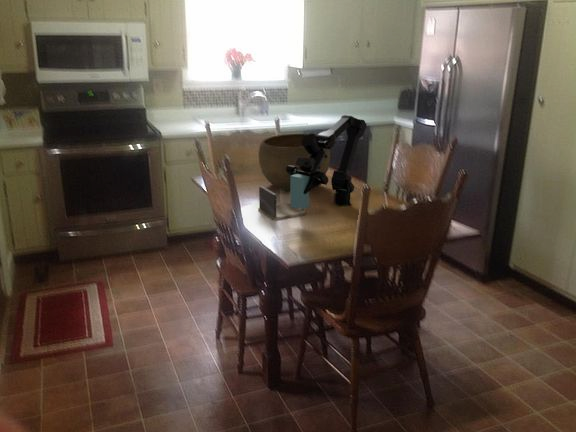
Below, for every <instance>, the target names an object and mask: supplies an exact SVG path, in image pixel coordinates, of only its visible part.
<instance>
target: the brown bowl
mask: <svg viewBox="0 0 576 432" xmlns="http://www.w3.org/2000/svg"><path fill="white" fill-rule="evenodd" d="M309 134H310V133H284V134H277V135H273V136H270V137H267V138H265V139H263V140H262V141H261V142H260V145H259V148H258V149H259V150H258V163H259V166H260V169H261V171H262V174H263V176H264V177H265V179H266V180H267V181H268V182H269V183H270V184H271V185H272V186H274V187H276V188H278V189H280V190H283V191H288V192H289V191H290V177H291V176H290V175H289V174H288V173H287V171H286V170H285V169H286V167H287V166H288V165H292V166H296V167H297V169H298V170H300V171H301V170H302V169H300V168H299V167H300V166H299V165H295V163H296V159H297V157H301V158H308V157H309V155H310V154H309V153H307V151H306V150H305V148H304V147H303V146H302V144H301V140H302V138H304V137H305V136H307V135H309ZM317 135H318V134H315V136H317ZM323 149H324V148H323ZM330 150H331V149H324V151H326V152H327V158H323V160H322V162H321V164H320V167H321V168H320V169H318V170H317V171H320V172H324V173H325V174H326V175H327V173H328V171H329V167H330V163H331V162H330V160H331V151H330ZM309 180H310V177H309Z"/></svg>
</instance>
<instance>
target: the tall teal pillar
mask: <svg viewBox="0 0 576 432" xmlns="http://www.w3.org/2000/svg"><path fill="white" fill-rule="evenodd" d="M308 182H309V176H305V175H300V174H294V175H291V177H290V193H289V194H290V195H289V197H290V198H289V200H290V202H289V204H290V206H291V207H295V208H299V209H300V210H302V211H303V210H306V209H308V208H309V205H310V191H309V192H308V193H306V194H304V190H305V188H306V186H307V184H308Z"/></svg>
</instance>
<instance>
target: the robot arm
mask: <svg viewBox="0 0 576 432" xmlns="http://www.w3.org/2000/svg"><path fill="white" fill-rule="evenodd" d="M367 126H368V125H367V123H366V121H365V119H358V118H357V117H355V116H353V115H347V114H343V115H341V117H340V118H339V120H337V121H336V122H335V123H334V124H333V125H332V126H331V127H330V128H329V129H327V130H324V131H321V132H319V133H318V134H315V133H313V132H309V133H308V134H309V135H307V136H305V137H304V138H302V140H301V144H302V146H303V147H304V148H305V150H306V151H307V153H309V154H310V155H309V157H308V158H301V157H297V159H296V163H295V165H299V166H300V167H299V168H300V169H302V170H301V171H300V170H298V169H297V167H296V166H292V165H288V166H287V167H286V169H285V170H286V171H287V173H288V174H289V175H290V176H291V175H294V174H300V175H305V176H309V177H310V180H309V182H308V184H307V186H306V188H305V190H304V194H306V193H308V192H309V193H310V192H311V191H312V190H314V189H315V188H317V187H318V186H322V185H326V186H327V184H328V183H329V177H328V176H327V173H326V174H325V173H324V172H320V171H317V170H318V169H320V168H321V167H320V164H321V162H322V160H323V158H327V152H326V151H324V149H330V150H331V149H332V148H334V146H335V145H336V142H337V138H339V137H340V136H341V135H342V134H343V133H344V132H346V135H347V137H346V143H345V144H344V148H343V149H344V150H343V153H342V157H341V159H340V160H341V161H340V164H339V168H338V169H334V171H333V173H332V176H331V178H330V179H331V181H330V183H331V187H332V188H331V189H332V191H335V192H334V197H333V202H334V204H335V205H336V206H338V207H339V206H351V205H352V203H351V194H352V193H353V192H354V190H355V185H354V184H353V182H352V172H351V168H352V163H353V161H354V157H355V154H356V150H357V147H358V142H359V140H360V139H361V138H363V136H364V134H365V131H366V129H367ZM315 135H317V136H315ZM323 148H324V149H323Z"/></svg>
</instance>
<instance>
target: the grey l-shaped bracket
mask: <svg viewBox="0 0 576 432" xmlns="http://www.w3.org/2000/svg"><path fill="white" fill-rule="evenodd" d="M258 188H259V191H258V192H259V201H258V203H259V204H258V205H259V208H257V209H258V210H257V211H259V213H260V214H262V215H264V216H265V217H267V218H269V219H270V220H271V221H276V220H277V221H278V220H284V219H288V218H294V217H301V216H306V212H305V211H303V210H302V209H299V208H295V207H291V206H290V203H285V204H278V205H277V199H278V198H277V193H275V192H273V191H272V190H271V189H270V190H269V189H267V188H266V187H264V186H263V185H259V187H258Z"/></svg>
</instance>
